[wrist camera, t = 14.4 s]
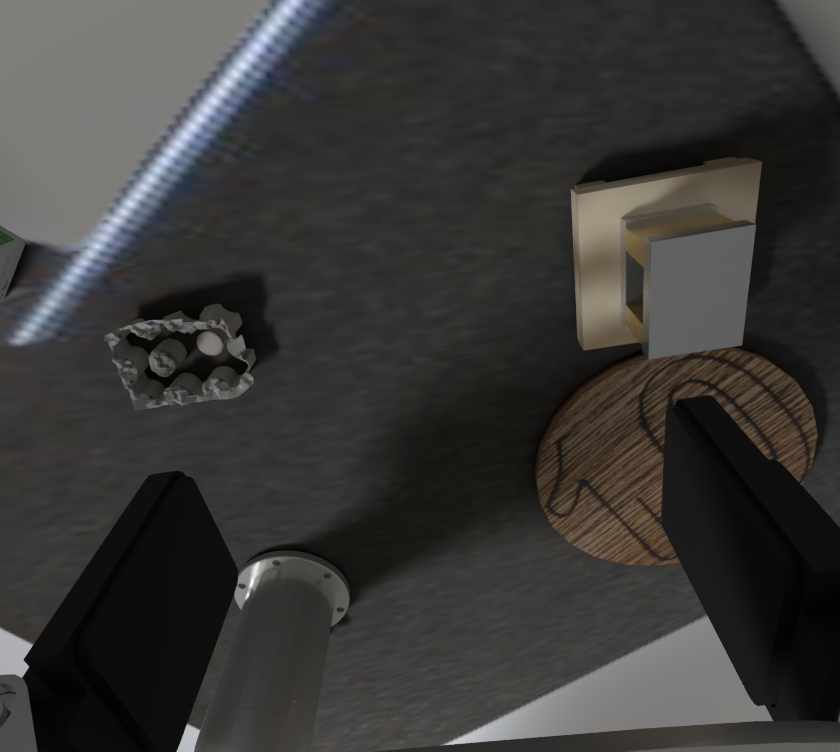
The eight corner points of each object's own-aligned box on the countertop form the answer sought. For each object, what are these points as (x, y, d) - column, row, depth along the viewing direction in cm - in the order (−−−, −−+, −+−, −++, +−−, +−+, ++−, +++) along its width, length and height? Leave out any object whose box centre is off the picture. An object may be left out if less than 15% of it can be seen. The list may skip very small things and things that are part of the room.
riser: (724, 310, 45) (743, 326, 42) (574, 334, 46) (583, 350, 43) (739, 155, 39) (762, 161, 36) (567, 186, 40) (577, 194, 37)
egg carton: (239, 296, 45) (224, 316, 41) (265, 376, 48) (253, 401, 45) (115, 314, 46) (89, 335, 42) (149, 392, 49) (128, 417, 46)
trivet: (642, 584, 61) (648, 599, 59) (479, 467, 53) (481, 480, 52) (857, 447, 52) (871, 459, 50) (696, 280, 44) (707, 288, 42)
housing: (710, 202, 38) (756, 224, 32) (702, 310, 41) (741, 345, 36) (620, 218, 38) (651, 242, 33) (620, 322, 42) (648, 359, 37)
